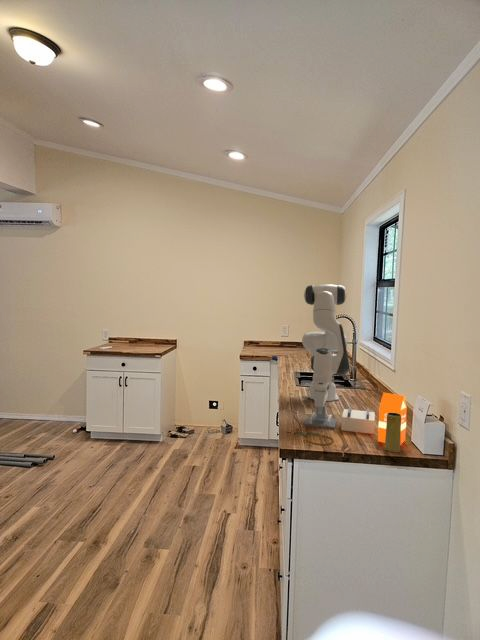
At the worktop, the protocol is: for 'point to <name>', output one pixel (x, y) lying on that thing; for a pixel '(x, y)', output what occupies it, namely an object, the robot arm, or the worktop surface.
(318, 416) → the plug
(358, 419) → the block
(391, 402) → the orange juice
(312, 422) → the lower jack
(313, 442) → the coiled cable
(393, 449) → the vase
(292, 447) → the worktop surface
